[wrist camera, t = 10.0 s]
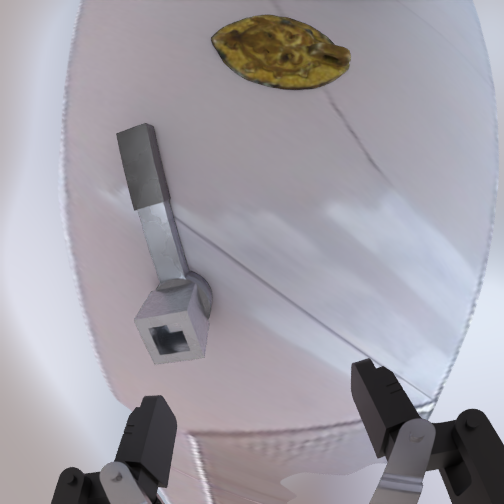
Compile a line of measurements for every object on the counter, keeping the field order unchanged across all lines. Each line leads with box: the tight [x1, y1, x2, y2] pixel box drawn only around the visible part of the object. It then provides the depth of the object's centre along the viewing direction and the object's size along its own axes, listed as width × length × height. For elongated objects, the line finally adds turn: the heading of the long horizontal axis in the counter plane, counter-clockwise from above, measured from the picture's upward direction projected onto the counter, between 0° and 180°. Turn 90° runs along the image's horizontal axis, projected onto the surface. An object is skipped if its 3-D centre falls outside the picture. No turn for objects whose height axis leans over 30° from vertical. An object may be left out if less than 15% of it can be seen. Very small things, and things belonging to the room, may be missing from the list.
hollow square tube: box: [134, 282, 209, 365], centre depth 26 cm, size 5×5×6 cm
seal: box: [211, 15, 351, 90], centre depth 23 cm, size 9×5×15 cm
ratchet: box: [116, 123, 212, 333], centre depth 26 cm, size 22×6×6 cm, turn 12°
